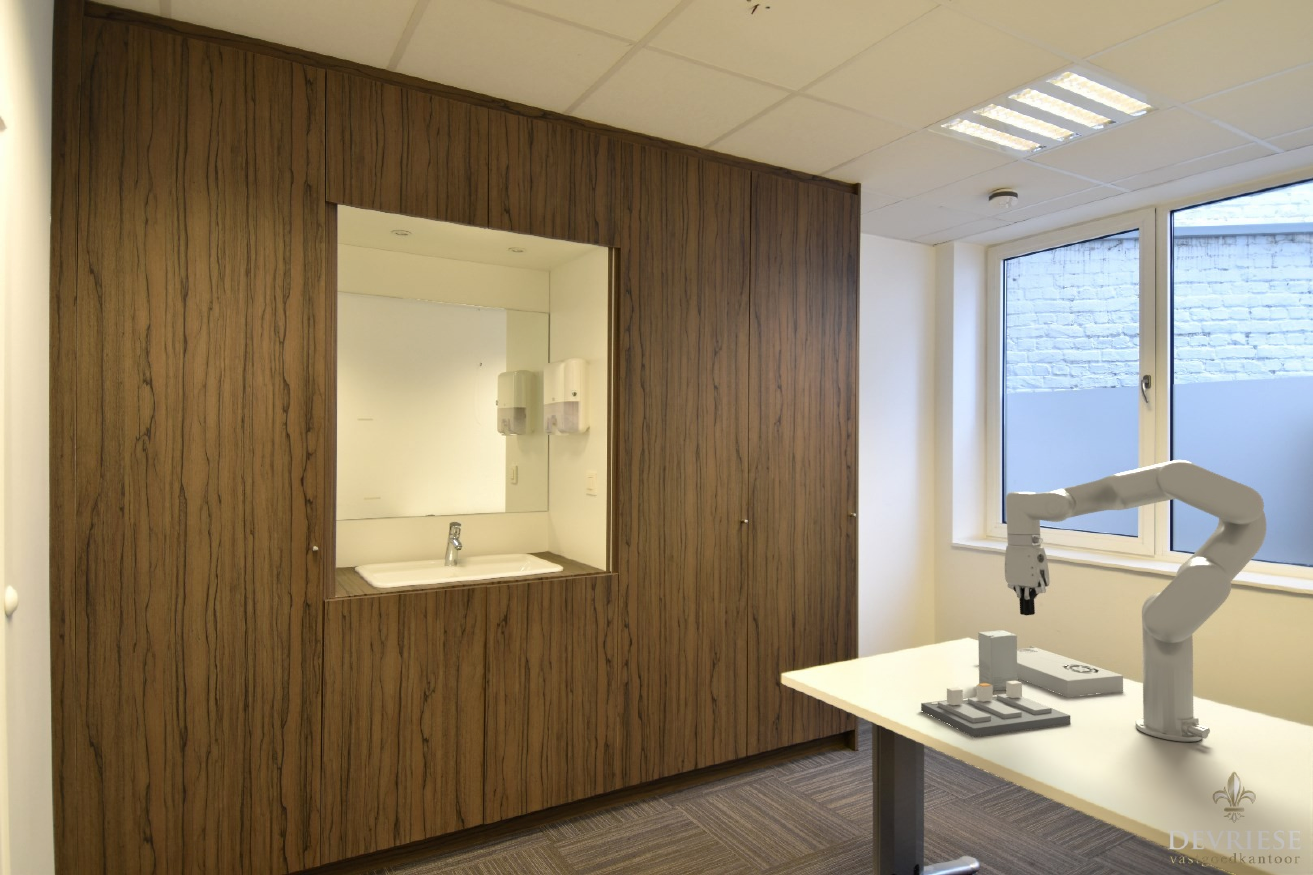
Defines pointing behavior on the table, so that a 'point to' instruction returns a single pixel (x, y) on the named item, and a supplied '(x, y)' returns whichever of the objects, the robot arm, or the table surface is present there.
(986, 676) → the skincare box
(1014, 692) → the block
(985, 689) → the block
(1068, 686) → the power supply unit
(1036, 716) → the breaker panel
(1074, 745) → the table surface
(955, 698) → the breaker
